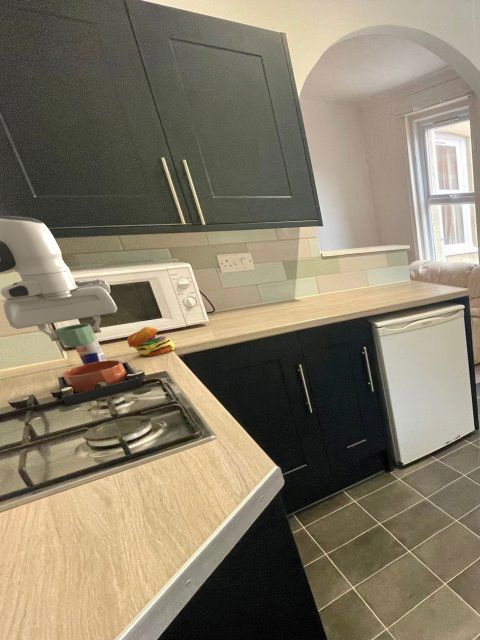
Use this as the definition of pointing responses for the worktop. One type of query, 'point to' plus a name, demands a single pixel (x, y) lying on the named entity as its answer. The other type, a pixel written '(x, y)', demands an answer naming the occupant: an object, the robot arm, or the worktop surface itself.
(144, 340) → the cheeseburger
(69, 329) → the small bowl
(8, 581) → the worktop surface
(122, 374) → the big bowl
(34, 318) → the robot arm
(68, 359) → the worktop surface
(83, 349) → the energy drink
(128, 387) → the tray
